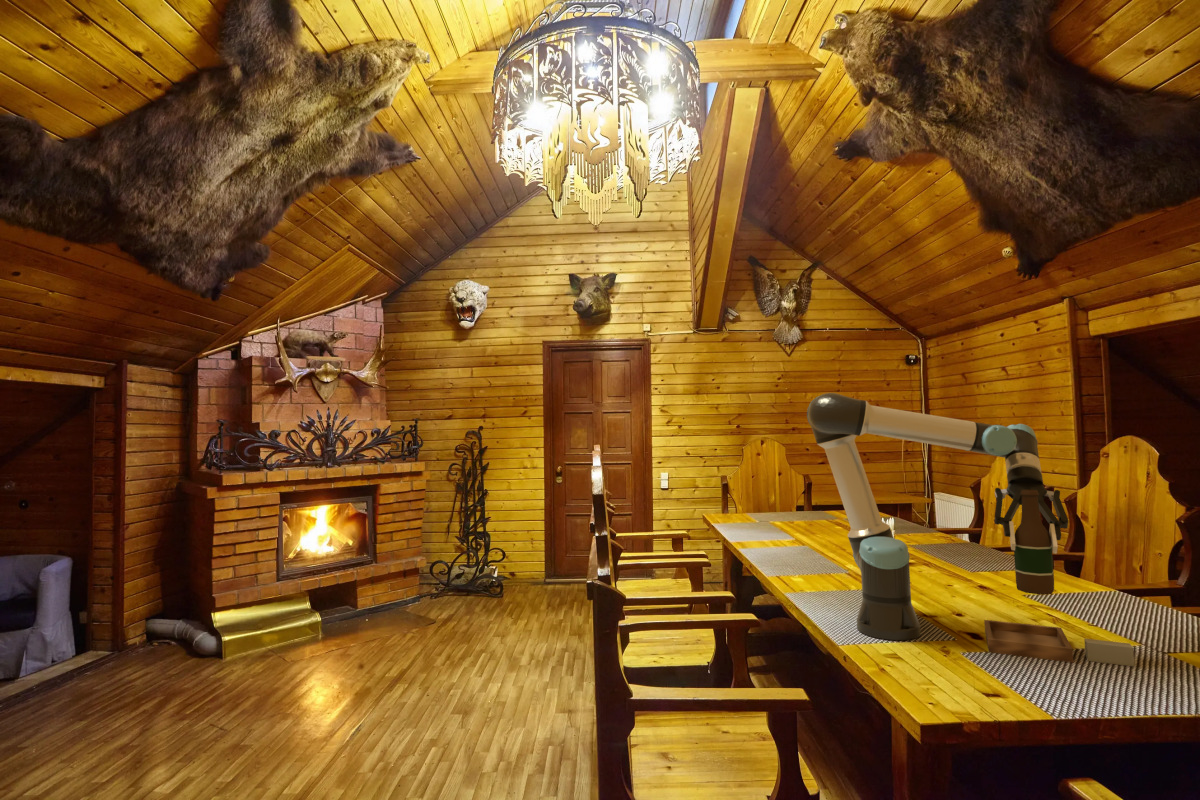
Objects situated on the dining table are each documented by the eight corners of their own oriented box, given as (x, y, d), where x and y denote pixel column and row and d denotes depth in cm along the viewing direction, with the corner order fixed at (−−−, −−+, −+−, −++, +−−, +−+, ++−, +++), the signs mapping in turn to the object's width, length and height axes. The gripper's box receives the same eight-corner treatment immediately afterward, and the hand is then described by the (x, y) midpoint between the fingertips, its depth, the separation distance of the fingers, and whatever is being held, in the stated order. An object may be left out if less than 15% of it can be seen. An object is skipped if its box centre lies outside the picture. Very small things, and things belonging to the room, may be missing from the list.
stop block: (1088, 660, 138) (1086, 642, 138) (1085, 656, 141) (1084, 638, 141) (1134, 666, 134) (1133, 647, 135) (1130, 661, 137) (1129, 643, 137)
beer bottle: (1008, 589, 150) (1002, 489, 151) (1028, 585, 153) (1022, 487, 154) (1042, 596, 143) (1036, 492, 144) (1062, 592, 146) (1056, 490, 147)
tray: (988, 652, 145) (987, 639, 145) (985, 631, 159) (984, 619, 159) (1073, 662, 138) (1072, 648, 138) (1061, 640, 151) (1061, 627, 152)
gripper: (978, 463, 163) (983, 535, 148) (1074, 465, 153) (1090, 542, 139) (978, 482, 168) (983, 553, 153) (1071, 485, 158) (1086, 561, 143)
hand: (1034, 548), depth 146 cm, fingers closed on beer bottle, 7 cm apart
